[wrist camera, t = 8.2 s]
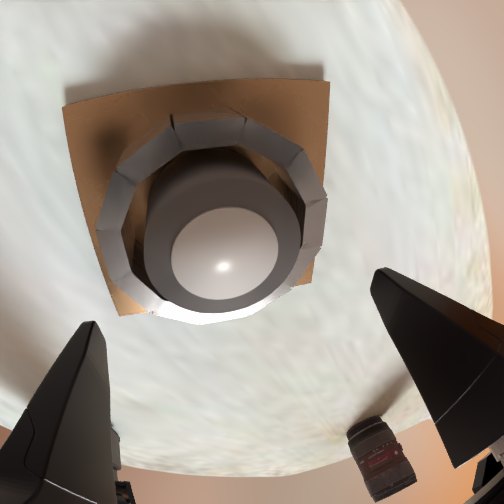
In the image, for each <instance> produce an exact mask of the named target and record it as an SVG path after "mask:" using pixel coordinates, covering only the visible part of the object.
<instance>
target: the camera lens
mask: <svg viewBox="0 0 504 504" xmlns="http://www.w3.org/2000/svg"><path fill="white" fill-rule="evenodd" d="M347 438H348V440H349V441H348V445H349V447H350V451H351V453H352V455H353V457H354V460H355V461H356V463H357V465H358V467H359V469H360V471H361V473H362V476H363V478H364V482H365V485H366V487H367V489H368V491H369V493H370V495H371V497H372V498H373V500H374V501H375V502H378V501H380V500H383V499H385V498H387V497H389V496H391V495H393V494H395V493H397V492H399V491H401V490H402V489H404V488H406V487H408V486H410V485H412V484H413V483H415V482H417V479H416V476H415V473H414V470H413V468H412V466H411V464H410V462H409V461H408V459H407V458H406V457H405V456H404V454H403V452H402V450H403V449H402V446H401V445H400V443H397V441H396V438H395V436H394V434H393V432H392V430H391V429H390V428H389V426H388V425H387V423H386V422H383V421H382V419H381V418H380V417H379V416H375V417H372V418H369V419H367V420H365V421H363V422H361V423H359V424H358V425H356V426H355V427H353V428H352V429H351V430H349V431H348V433H347Z"/></svg>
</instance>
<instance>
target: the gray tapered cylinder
mask: <svg viewBox="0 0 504 504" xmlns="http://www.w3.org/2000/svg"><path fill="white" fill-rule="evenodd" d="M300 244H301V233H300V226H299V223H298V219H297V217H296V215H295V213H294V211H293V209H292V208H291V206H290V205H289V203H288V202H287V201H286V200H285V199H284V198H283V196H282V195H281V194H280V193H279V192H278V191H277V189H276V188H275V187H274V186H273V185H272V184H271V183H270V181H269V180H268V179H267V178H266V177H265V176H264V175H263V173H262V172H261V171H260V170H259V169H258V168H257V167H256V166H255V165H254V164H253V163H252V162H251V161H250V160H248V159H247V158H245V157H244V156H242V155H240V154H238V153H235V152H232V151H229V150H225V149H216V148H210V149H201V150H196V151H193V152H189V153H187V154H185V155H182V156H180V157H179V158H177V159H175V160H174V161H172V162H171V163H170V164H169V165H168V166H166V167H165V168H164V169H163V170H162V172H161V173H160V174H159V175H158V177H157V178H156V180H155V181H154V183H153V185H152V187H151V190H150V193H149V196H148V202H147V211H146V224H145V238H144V263H145V269H146V271H147V274H148V277H149V279H150V281H151V283H152V284H153V286H154V287H155V288H156V290H157V291H158V292H159V293H160V294H161V295H162V296H163V297H164V298H166V299H167V300H168V301H170V302H171V303H173V304H175V305H176V306H178V307H181V308H183V309H186V310H189V311H193V312H198V313H205V314H221V313H229V312H233V311H237V310H241V309H244V308H247V307H249V306H251V305H254V304H256V303H257V302H259V301H261V300H263V299H264V298H266V297H267V296H269V295H270V294H271V293H273V292H274V291H275V290H276V289H277V288H278V287H279V286H280V285H281V284H282V283H283V282H284V281H285V279H286V278H287V277H288V275H289V274H290V272H291V271H292V269H293V267H294V265H295V263H296V260H297V258H298V254H299V250H300Z"/></svg>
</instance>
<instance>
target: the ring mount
mask: <svg viewBox="0 0 504 504" xmlns="http://www.w3.org/2000/svg"><path fill="white" fill-rule="evenodd" d="M329 94H330V82H327V81H318V80H299V79H232V80H214V81H201V82H190V83H180V84H172V85H164V86H157V87H150V88H144V89H137V90H132V91H126V92H121V93H116V94H111V95H106V96H102V97H97V98H93V99H89V100H85V101H81V102H77V103H73V104H69V105H66V106H63V107H62V111H63V117H64V124H65V130H66V136H67V142H68V147H69V152H70V157H71V162H72V167H73V172H74V176H75V180H76V185H77V189H78V193H79V197H80V201H81V204H82V208H83V212H84V216H85V219H86V223H87V226H88V229H89V233H90V236H91V239H92V243H93V246H94V249H95V252H96V255H97V258H98V261H99V264H100V267H101V270H102V273H103V275H104V278H105V281H106V284H107V286H108V289H109V292H110V294H111V297H112V300H113V302H114V305H115V307H116V310H117V312H118V315H119V316H124V315H131V314H138V313H144V312H149V313H150V312H152V314H154V315H158V316H162V317H167V318H171V319H176V320H180V321H185V322H190V323H195V324H199V322H200V321H201V324H206V323H212V322H217V321H223V320H228V319H233V318H239V317H244V316H248V312H249V313H250V314H253V313H254V312H256V311H258V310H259V309H261V308H263V307H264V306H266V305H267V304H269V303H271V302H272V301H274V300H275V299H277V298H279V297H280V296H282V295H283V294H285V293H287V292H288V291H290V290H291V287H294V286H298V285H303V284H307V283H311V281H312V274H313V267H314V259H315V256H316V255H317V253H318V252H319V250H320V249H321V248H320V247H319V246H322V241H323V233H324V226H325V218H326V209H327V201H328V198H326V196H327V194H326V192H325V190H324V188H323V179H324V168H325V156H326V144H327V129H328V113H329ZM210 148H216V149H225V150H229V151H232V152H235V153H238V154H240V155H242V156H244V157H245V158H247V159H248V160H250V161H251V162H252V163H253V164H254V165H255V166H256V167H257V168H258V169H259V170H260V171H261V172H262V173H263V175H264V176H265V177H266V178H267V179H268V180H269V181H270V183H271V184H272V185H273V186H274V187H275V188H276V189H277V191H278V192H279V193H280V194H281V195H282V196H283V198H284V199H285V200H286V201H287V202H288V203H289V205H290V206H291V208H292V209H293V211H294V213H295V215H296V217H297V219H298V223H299V226H300V233H301V244H300V250H299V254H298V258H297V260H296V263H295V265H294V267H293V269H292V271H291V272H290V274H289V275H288V277H287V278H286V279H285V281H284V282H283V283H282V284H281V285H280V286H279V287H278V288H277V289H276V290H275V291H274V292H273V293H271V294H270V295H269V296H267V297H266V298H264V299H263V300H261V301H259V302H257V303H256V304H254V305H251V306H249V307H247V308H244V309H241V310H237V311H233V312H229V313H221V314H205V313H198V312H193V311H189V310H186V309H183V308H181V307H178V306H176V305H175V304H173V303H171V302H170V301H168V300H167V299H166V298H164V297H163V296H162V295H161V294H160V293H159V292H158V291H157V290H156V288H155V287H154V286H153V284H152V283H151V281H150V279H149V277H148V274H147V271H146V269H145V263H144V238H145V224H146V211H147V202H148V196H149V193H150V190H151V187H152V185H153V183H154V181H155V180H156V178H157V177H158V175H159V174H160V173H161V172H162V170H163V169H164V168H165V167H166V166H168V165H169V164H170V163H171V162H172V161H174V160H175V159H177V158H179V157H180V156H182V155H185V154H187V153H189V152H193V151H196V150H201V149H210Z"/></svg>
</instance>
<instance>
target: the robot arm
mask: <svg viewBox="0 0 504 504" xmlns="http://www.w3.org/2000/svg"><path fill="white" fill-rule="evenodd" d="M370 292H371V296H372V298H373V300H374V302H375V304H376V307H377V309H378V311H379V313H380V316H381V318H382V320H383V323H384V325H385V327H386V329H387V331H388V333H389V335H390V337H391V339H392V340H393V342H394V344H395V346H396V348H397V350H398V352H399V353H400V355H401V357H402V359H403V361H404V363H405V365H406V367H407V369H408V370H409V372H410V374H411V376H412V378H413V380H414V382H415V384H416V386H417V388H418V390H419V392H420V394H421V396H422V398H423V400H424V402H425V404H426V406H427V408H428V411H429V413H430V415H431V417H432V419H433V421H434V423H435V426H436V428H437V430H438V432H439V434H440V436H441V439H442V441H443V443H444V446H445V448H446V450H447V453H448V455H449V458H450V460H451V462H452V465H453V467H454V468H455V469H456V468H458V467H459V466H461V465H463V464H464V463H466V462H467V461H469V460H470V459H472V458H474V457H475V456H477V455H478V454H479V453H481V452H482V451H484V450H485V449H487V448H488V447H489V449H490V451H491V452H489V453H488V454H487V455H486V456H485V457H484V458H483V459H482V460H480V461H479V462H478V465H477V470H476V475H475V479H474V484H473V488H472V490H473V492H474V494H475V495H473V496H472V497H471V498H470V499H469V500H467V501H466V502H465V503H464V504H504V325H502V324H500V323H498V322H496V321H494V320H491V319H489V318H487V317H485V316H483V315H481V314H479V313H477V312H476V311H474V310H472V309H469V308H468V307H466V306H464V305H462V304H460V303H458V302H456V301H454V300H452V299H450V298H448V297H446V296H444V295H442V294H441V293H439V292H437V291H435V290H433V289H431V288H429V287H426V286H424V285H422V284H420V283H418V282H416V281H414V280H412V279H410V278H408V277H406V276H404V275H402V274H400V273H398V272H396V271H394V270H392V269H389V268H387V267H384V268H380V269H377V270H376V271H375V273H374V276H373V280H372V283H371V287H370ZM119 442H120V437H119V436H118V435H117V434H116V433H115V432H114V431H113V430H112V429H111V420H110V384H109V374H108V363H107V349H106V341H105V338H104V336H103V334H102V332H101V330H100V328H99V326H98V324H97V323H96V322H95V321H86V322H83V323H82V324H81V325H80V326H79V328H78V329H77V330H76V332H75V333H74V335H73V336H72V337H71V339H70V340H69V342H68V343H67V345H66V346H65V348H64V349H63V351H62V352H61V354H60V355H59V356H58V358H57V359H56V361H55V362H54V364H53V366H52V367H51V369H50V370H49V372H48V373H47V375H46V376H45V378H44V379H43V381H42V383H41V384H40V386H39V387H38V389H37V391H36V392H35V394H34V396H33V397H32V399H31V401H30V402H29V404H28V406H27V408H26V409H25V410H24V412H23V414H22V416H21V417H20V419H19V421H18V422H17V424H16V426H15V427H14V429H13V431H12V432H11V434H10V435H9V437H8V438H7V440H6V441H5V443H4V445H3V446H2V448H1V449H0V504H136V503H135V499H134V496H133V493H132V489H131V485H130V482H127V481H124V482H121V481H118V478H117V470H120V469H121V460H120V448H119Z"/></svg>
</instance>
